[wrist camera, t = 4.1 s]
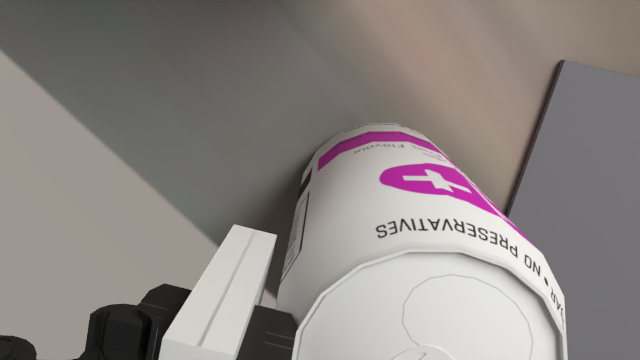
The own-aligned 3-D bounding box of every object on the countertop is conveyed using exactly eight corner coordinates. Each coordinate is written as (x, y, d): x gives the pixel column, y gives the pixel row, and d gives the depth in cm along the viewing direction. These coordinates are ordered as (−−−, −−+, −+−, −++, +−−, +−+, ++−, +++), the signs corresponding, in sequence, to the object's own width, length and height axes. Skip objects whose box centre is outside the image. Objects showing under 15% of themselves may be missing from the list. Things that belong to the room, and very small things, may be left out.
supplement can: (368, 87, 25) (416, 150, 11) (485, 188, 27) (664, 362, 12) (269, 203, 27) (199, 388, 13) (383, 292, 29) (436, 551, 14)
